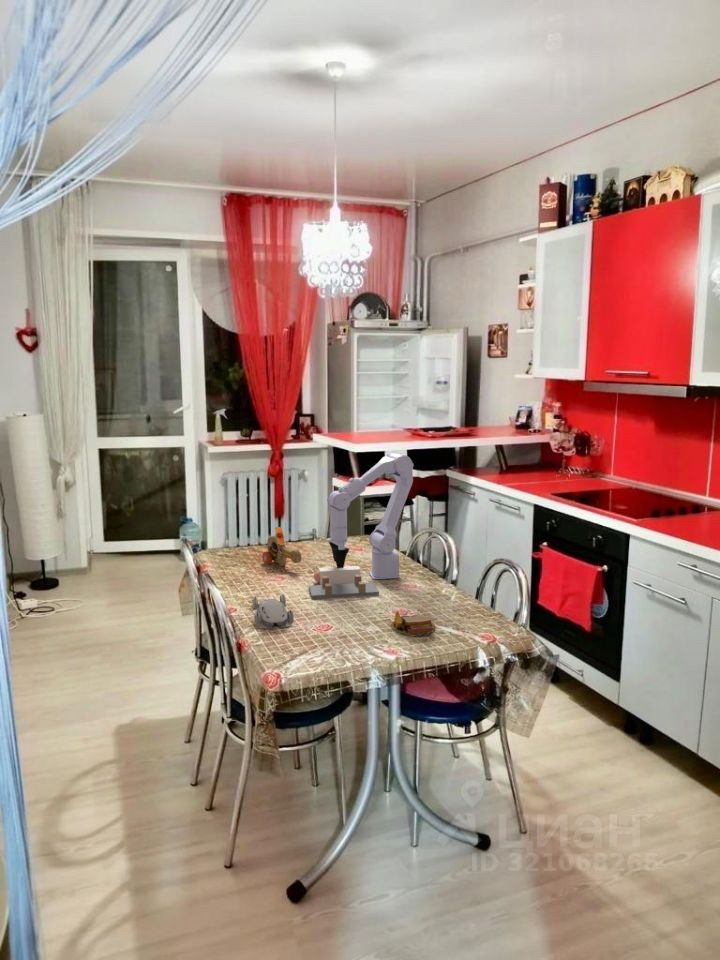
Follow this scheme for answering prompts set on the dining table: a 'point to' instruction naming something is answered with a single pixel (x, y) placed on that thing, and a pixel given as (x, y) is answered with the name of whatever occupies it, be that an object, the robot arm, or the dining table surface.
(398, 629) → the toy sandwich meal
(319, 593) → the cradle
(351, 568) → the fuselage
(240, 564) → the dining table surface
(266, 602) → the car model
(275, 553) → the toy helicopter
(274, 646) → the dining table surface
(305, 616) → the dining table surface
